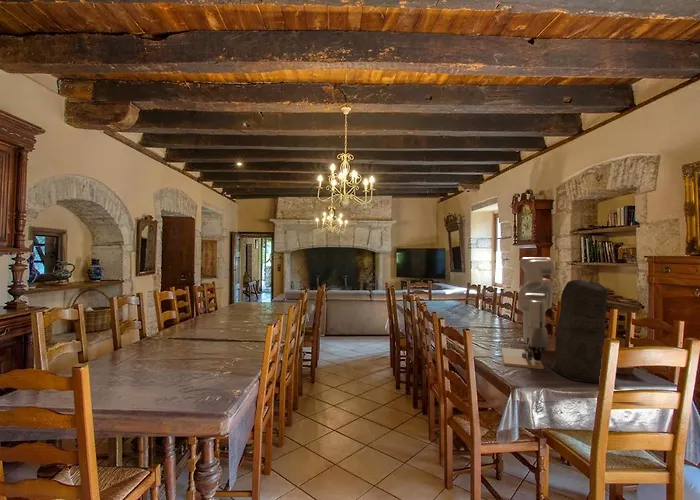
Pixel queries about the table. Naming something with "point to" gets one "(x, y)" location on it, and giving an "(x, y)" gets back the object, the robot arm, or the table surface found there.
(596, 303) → the stone sculpture
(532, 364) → the door and jamb board
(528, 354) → the swing bar
